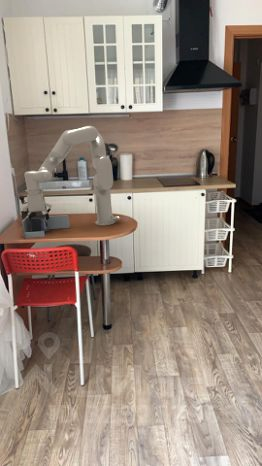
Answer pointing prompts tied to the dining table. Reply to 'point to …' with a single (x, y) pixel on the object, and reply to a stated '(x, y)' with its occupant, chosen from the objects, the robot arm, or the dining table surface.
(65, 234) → the dining table surface
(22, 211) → the coffee grinder
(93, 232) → the dining table surface
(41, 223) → the small box
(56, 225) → the shelf
